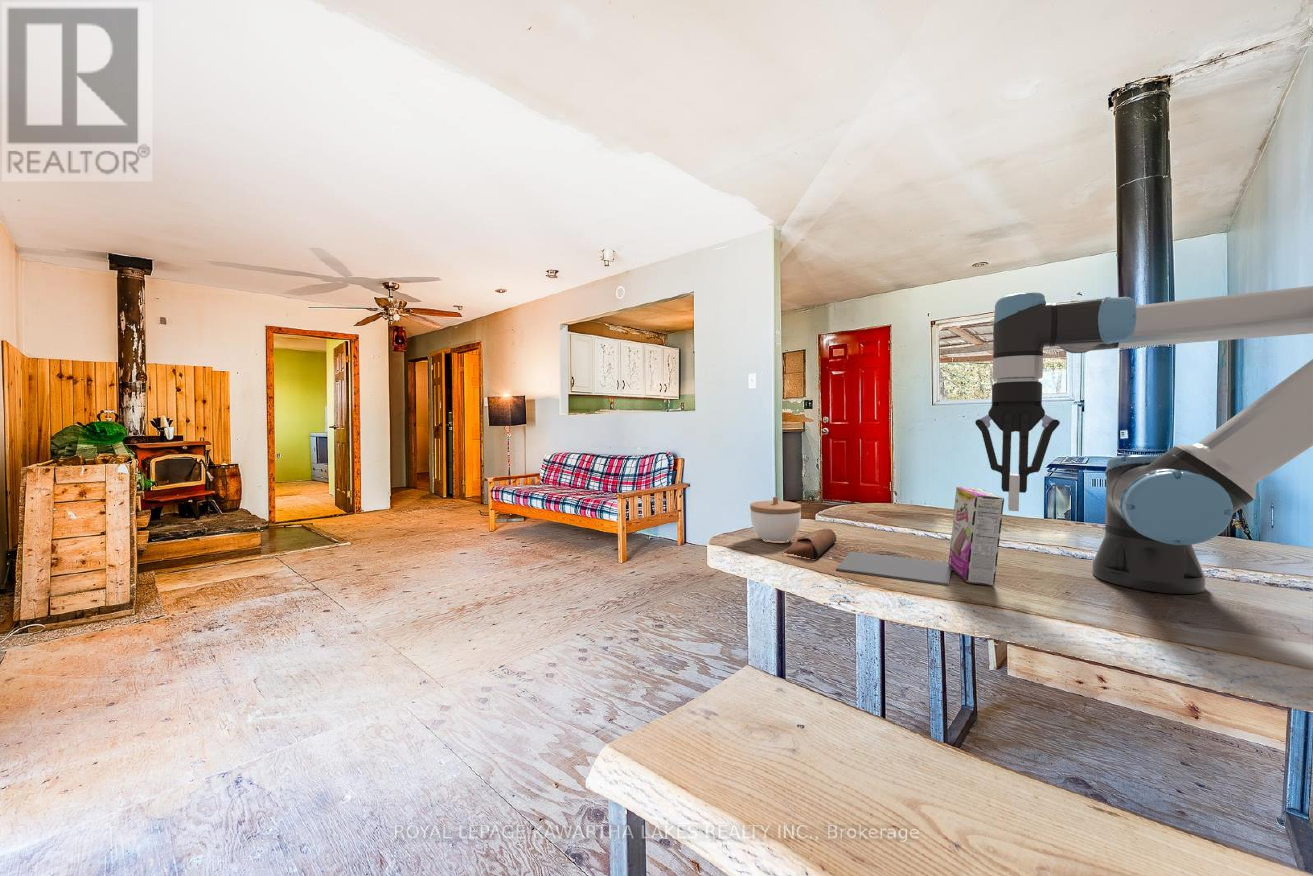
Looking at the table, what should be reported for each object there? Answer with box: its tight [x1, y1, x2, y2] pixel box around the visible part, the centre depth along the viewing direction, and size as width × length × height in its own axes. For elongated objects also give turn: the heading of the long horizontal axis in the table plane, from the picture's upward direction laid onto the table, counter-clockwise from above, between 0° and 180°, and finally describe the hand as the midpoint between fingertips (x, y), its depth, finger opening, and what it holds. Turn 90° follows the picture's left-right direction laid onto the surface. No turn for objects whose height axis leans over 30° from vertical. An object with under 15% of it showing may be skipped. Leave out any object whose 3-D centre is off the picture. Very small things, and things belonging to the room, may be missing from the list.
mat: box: [835, 551, 952, 587], centre depth 107 cm, size 20×15×1 cm
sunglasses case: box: [783, 528, 837, 560], centre depth 122 cm, size 18×7×7 cm
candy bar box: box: [947, 486, 1005, 587], centre depth 100 cm, size 11×5×16 cm, turn 167°
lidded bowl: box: [749, 496, 802, 541], centre depth 132 cm, size 13×13×11 cm
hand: (1013, 509), depth 96 cm, fingers closed
